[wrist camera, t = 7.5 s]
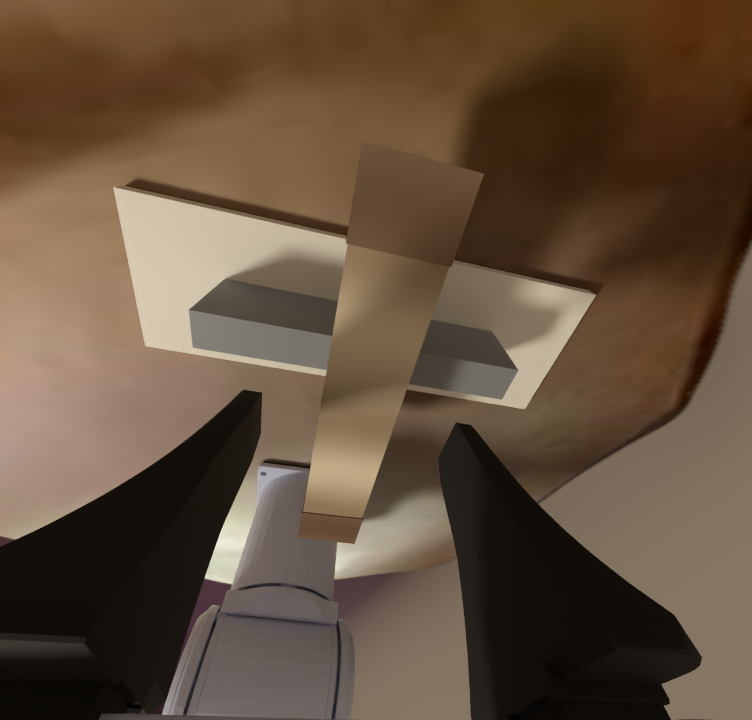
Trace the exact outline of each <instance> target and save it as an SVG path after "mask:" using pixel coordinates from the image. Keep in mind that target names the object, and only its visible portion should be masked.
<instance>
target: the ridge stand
mask: <svg viewBox="0 0 752 720" xmlns="http://www.w3.org/2000/svg"><path fill="white" fill-rule="evenodd" d="M113 188H114V193H115V198H116V203H117V208H118V213H119V218H120V223H121V228H122V232H123V237H124V242H125V247H126V252H127V257H128V262H129V267H130V272H131V277H132V282H133V287H134V292H135V297H136V302H137V307H138V312H139V317H140V322H141V327H142V332H143V337H144V342H145V346H148V347H154V348H160V349H166V350H172V351H178V352H184V353H190V354H196V355H202V356H208V357H214V358H220V359H226V360H232V361H238V362H244V363H250V364H256V365H262V366H268V367H274V368H280V369H286V370H292V371H298V372H304V373H310V374H316V375H322V376H326V371H327V365H328V359H329V353H330V347H331V341H332V335H333V329H334V323H335V317H336V311H337V305H338V299H339V293H340V287H341V281H342V275H343V269H344V263H345V257H346V251H347V245H348V244H346V239H347V236H345V235H341V234H337V233H332V232H328V231H323V230H319V229H314V228H310V227H305V226H301V225H297V224H292V223H288V222H283V221H279V220H274V219H270V218H266V217H261V216H257V215H252V214H248V213H243V212H239V211H234V210H230V209H226V208H221V207H217V206H212V205H208V204H203V203H199V202H194V201H190V200H186V199H181V198H177V197H172V196H168V195H163V194H159V193H155V192H150V191H146V190H141V189H137V188H132V187H128V186H118V187H113ZM595 296H596V295H595V294H594V293H592V292H590V291H589V290H585V289H581V288H576V287H572V286H567V285H563V284H559V283H554V282H550V281H545V280H541V279H536V278H532V277H528V276H523V275H519V274H514V273H510V272H505V271H501V270H496V269H492V268H488V267H483V266H479V265H474V264H470V263H465V262H461V261H456V260H454V262H453V264H452V267H449V269H448V272H447V275H446V278H445V281H444V284H443V287H442V289H441V292H440V295H439V298H438V301H437V304H436V307H435V310H434V312H433V315H432V318H431V321H430V324H429V327H428V330H427V333H426V336H425V338H424V341H423V344H422V347H421V350H420V353H419V356H418V359H417V361H416V364H415V367H414V370H413V373H412V376H411V379H410V382H409V384H408V387H407V390H413V391H419V392H425V393H431V394H437V395H443V396H449V397H455V398H461V399H467V400H473V401H479V402H485V403H491V404H497V405H503V406H509V407H515V408H521V409H525V408H526V406H527V405H528V403H529V402H530V400H531V398H532V397H533V395H534V394H535V392H536V390H537V389H538V387H539V386H540V384H541V382H542V381H543V379H544V378H545V376H546V374H547V373H548V371H549V370H550V368H551V367H552V365H553V363H554V362H555V360H556V359H557V357H558V355H559V354H560V352H561V351H562V349H563V347H564V346H565V344H566V343H567V341H568V339H569V338H570V336H571V335H572V333H573V331H574V330H575V328H576V327H577V325H578V323H579V322H580V320H581V319H582V317H583V315H584V314H585V312H586V311H587V309H588V308H589V306H590V304H591V303H592V301H593V300H594V298H595Z"/></svg>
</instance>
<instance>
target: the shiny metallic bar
mask: <svg viewBox="0 0 752 720" xmlns="http://www.w3.org/2000/svg"><path fill="white" fill-rule="evenodd" d="M483 176H484V173H480V172H476V171H472V170H469V169H465V168H461V167H457V166H454V165H450V164H446V163H443V162H439V161H435V160H431V159H428V158H424V157H420V156H416V155H413V154H409V153H405V152H402V151H398V150H394V149H390V148H387V147H383V146H379V145H375V144H372V143H368V142H364V141H362V147H361V154H360V160H359V166H358V172H357V178H356V184H355V190H354V196H353V202H352V209H351V215H350V221H349V227H348V233H347V239H346V244H348V245H347V251H346V257H345V263H344V269H343V275H342V281H341V287H340V293H339V299H338V305H337V311H336V317H335V323H334V329H333V335H332V341H331V347H330V353H329V359H328V365H327V371H326V377H325V383H324V389H323V395H322V401H321V407H320V413H319V419H318V425H317V431H316V437H315V443H314V449H313V455H312V461H311V467H310V472H309V477H308V483H307V488H306V493H305V498H304V504H303V509H302V514H301V520H300V527H299V533H298V538H302V539H312V540H322V541H333V542H343V543H353V544H355V541H356V538H357V535H358V532H359V529H360V526H361V524H362V521H363V514H364V511H365V508H366V505H367V503H368V500H369V497H370V494H371V491H372V488H373V485H374V482H375V480H376V477H377V474H378V471H379V468H380V465H381V462H382V459H383V456H384V454H385V451H386V448H387V445H388V442H389V439H390V436H391V433H392V431H393V428H394V425H395V422H396V419H397V416H398V413H399V410H400V408H401V405H402V402H403V399H404V396H405V393H406V390H407V387H408V384H409V382H410V379H411V376H412V373H413V370H414V367H415V364H416V361H417V359H418V356H419V353H420V350H421V347H422V344H423V341H424V338H425V336H426V333H427V330H428V327H429V324H430V321H431V318H432V315H433V312H434V310H435V307H436V304H437V301H438V298H439V295H440V292H441V289H442V287H443V284H444V281H445V278H446V275H447V272H448V269H449V267H452V264H453V262H454V259H455V256H456V253H457V250H458V247H459V244H460V242H461V239H462V236H463V233H464V230H465V227H466V225H467V222H468V219H469V216H470V213H471V210H472V207H473V205H474V202H475V199H476V196H477V193H478V190H479V187H480V185H481V182H482V179H483Z"/></svg>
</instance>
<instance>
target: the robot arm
mask: <svg viewBox="0 0 752 720" xmlns="http://www.w3.org/2000/svg"><path fill="white" fill-rule="evenodd" d="M261 407H262V393H261V392H254V391H248V390H243V391H242V392H240V393H239V394H238V395H237V396H236V397H235V398H234V399H233V400H232V401H231V402H230V403H229V404H228V405H227V406H226V407H224V408H223V409H222V410H221V411H220V412H219V413H218V414H217V415H216V416H214V417H213V418H212V419H211V420H210V421H209V422H207V423H206V424H205V425H204V426H203V427H202V428H200V429H199V430H198V431H197V432H196V433H194V434H193V435H192V436H191V437H189V438H188V439H187V440H185V441H184V442H183V443H181V444H180V445H179V446H178V447H176V448H175V449H174V450H172V451H171V452H170V453H168V454H167V455H165V456H164V457H163V458H161V459H160V460H158V461H157V462H155V463H154V464H152V465H151V466H149V467H148V468H146V469H145V470H143V471H142V472H140V473H139V474H137V475H136V476H134V477H132V478H131V479H129V480H127V481H126V482H124V483H123V484H121V485H119V486H118V487H116V488H114V489H113V490H111V491H109V492H108V493H106V494H104V495H102V496H101V497H99V498H97V499H95V500H93V501H92V502H90V503H88V504H86V505H84V506H82V507H80V508H78V509H77V510H75V511H73V512H71V513H69V514H67V515H65V516H63V517H62V518H60V519H58V520H56V521H54V522H52V523H50V524H48V525H46V526H44V527H42V528H40V529H38V530H36V531H34V532H32V533H29V534H27V535H25V536H23V537H21V538H19V539H16V540H14V541H12V542H10V543H8V544H6V545H3V546H1V547H0V720H350V715H351V708H352V701H353V692H354V677H355V653H354V643H353V638H352V634H351V632H350V631H349V629H348V626H347V624H346V622H345V621H344V620H343V619H337V615H338V603H337V602H332V597H333V585H334V573H335V562H336V550H337V542H333V541H322V540H312V539H302V538H298V533H299V527H300V520H301V514H302V509H303V504H304V498H305V493H306V488H307V483H308V477H309V472H310V469H309V468H301V467H294V466H286V465H278V464H270V463H261V464H260V465H259V467H258V480H257V509H256V512H255V515H254V518H253V521H252V525H251V528H250V531H249V534H248V537H247V540H246V543H245V546H244V550H243V553H242V556H241V559H240V562H239V565H238V568H237V571H236V575H235V578H234V581H233V584H232V587H231V590H228V591H227V593H226V596H225V599H224V602H223V605H222V608H221V611H220V606H216V605H212V606H211V607H210V608H209V609H208V611H206V612H205V613H203V614H202V615H201V616H200V617H199V618H198V620H197V622H196V624H195V626H194V628H193V630H192V632H191V635H190V637H189V639H188V642H187V644H186V647H185V649H184V652H183V655H182V658H181V660H180V663H179V665H178V668H177V671H176V674H175V677H174V680H173V682H172V679H173V675H174V672H175V668H176V665H177V662H178V659H179V655H180V652H181V649H182V646H183V642H184V639H185V636H186V633H187V630H188V626H189V623H190V620H191V617H192V614H193V611H194V608H195V605H196V602H197V598H198V596H199V593H200V590H201V587H202V584H203V581H204V578H205V575H206V572H207V569H208V566H209V563H210V560H211V557H212V554H213V551H214V548H215V546H216V543H217V540H218V537H219V534H220V532H221V529H222V527H223V524H224V522H225V519H226V517H227V515H228V513H229V511H230V508H231V506H232V504H233V502H234V500H235V497H236V495H237V493H238V491H239V489H240V486H241V484H242V482H243V480H244V477H245V475H246V473H247V471H248V469H249V466H250V464H251V462H252V459H253V456H254V453H255V450H256V447H257V444H258V440H259V437H260V434H261ZM439 470H440V479H441V486H442V491H443V496H444V500H445V504H446V509H447V513H448V517H449V522H450V526H451V530H452V535H453V539H454V543H455V548H456V554H457V559H458V566H459V574H460V582H461V590H462V598H463V607H464V616H465V628H466V640H467V652H468V667H469V684H470V704H471V719H472V720H671V719H670V717H669V715H668V713H667V711H666V709H665V708H664V706H663V705H668V704H670V702H669V698H668V696H667V694H666V693H665V691H664V689H663V687H662V685H661V684H662V683H665V682H668V681H670V680H672V679H675V678H677V677H680V676H682V675H684V674H687V673H689V672H691V671H693V670H695V669H696V668H697V667H699V666H700V663H701V659H702V657H701V655H700V654H699V652H698V651H697V649H696V648H695V646H694V644H693V643H692V642H691V640H690V638H689V637H688V635H687V634H686V632H685V631H684V629H683V628H682V626H681V625H680V623H679V621H678V620H677V618H676V617H675V616H674V615H673V614H672V613H671V612H669V611H668V610H666V609H665V608H664V607H662V606H661V605H659V604H658V603H656V602H655V601H654V600H652V599H651V598H649V597H648V596H647V595H645V594H644V593H642V592H641V591H639V590H638V589H637V588H635V587H634V586H632V585H631V584H630V583H628V582H627V581H626V580H624V579H623V578H622V577H621V576H619V575H618V574H617V573H615V572H614V571H613V570H612V569H610V568H609V567H608V566H606V565H605V564H604V563H603V562H601V561H600V560H599V559H598V558H597V557H595V556H594V555H593V554H591V553H590V552H589V551H588V550H587V549H586V548H584V547H583V546H582V545H581V544H580V543H579V542H578V541H577V540H575V539H574V538H573V537H572V536H571V535H570V534H569V533H567V532H566V531H565V530H564V529H563V528H562V527H561V526H560V525H559V524H558V523H557V522H556V521H554V519H552V518H551V516H549V515H548V514H547V513H546V512H545V511H544V510H543V509H542V508H541V507H540V506H539V505H538V504H537V503H536V501H535V500H534V499H533V498H532V497H531V496H530V495H529V494H528V493H527V492H526V491H525V490H524V488H523V487H522V486H521V485H520V484H519V483H518V482H517V481H516V479H515V478H514V477H513V476H512V475H511V474H510V472H509V471H508V470H507V469H506V468H505V466H504V465H503V464H502V463H501V462H500V460H499V459H498V458H497V457H496V455H495V454H494V453H493V452H492V450H491V449H490V448H489V447H488V445H487V444H486V443H485V442H484V440H483V439H482V438H481V437H480V435H479V434H478V433H477V432H476V430H475V429H474V428H473V427H472V426H471V425H467V424H461V423H455V425H454V427H453V430H452V432H451V434H450V436H449V438H448V440H447V442H446V444H445V446H444V448H443V450H442V452H441V454H440V456H439ZM171 682H172V685H171ZM170 685H171V688H170ZM169 689H170V691H169ZM168 692H169V694H168ZM167 695H168V697H167ZM166 699H167V700H166ZM165 700H166V703H165V707H164V710H163V713H162V715H152V714H151V713H153V712H154V711H155V710H156V709H157V708H158V707H159V706H160V705H161V704H162V703H163V702H164V701H165ZM680 720H700V719H680ZM702 720H703V719H702Z"/></svg>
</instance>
